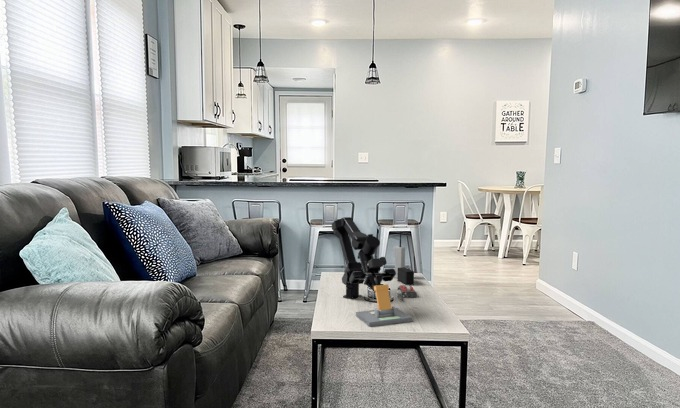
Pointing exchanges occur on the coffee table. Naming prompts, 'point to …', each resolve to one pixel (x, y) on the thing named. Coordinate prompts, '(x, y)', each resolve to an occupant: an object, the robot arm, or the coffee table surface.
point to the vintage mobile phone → (399, 257)
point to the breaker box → (383, 317)
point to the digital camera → (406, 276)
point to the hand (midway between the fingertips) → (378, 294)
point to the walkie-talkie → (405, 292)
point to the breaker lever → (383, 299)
